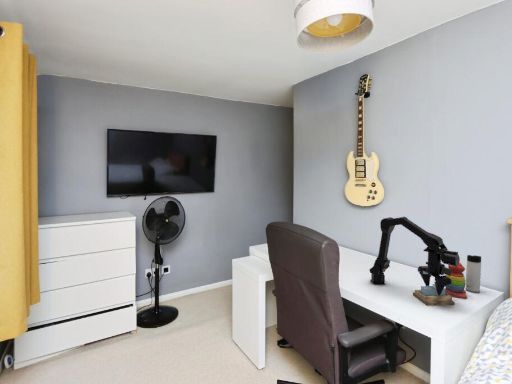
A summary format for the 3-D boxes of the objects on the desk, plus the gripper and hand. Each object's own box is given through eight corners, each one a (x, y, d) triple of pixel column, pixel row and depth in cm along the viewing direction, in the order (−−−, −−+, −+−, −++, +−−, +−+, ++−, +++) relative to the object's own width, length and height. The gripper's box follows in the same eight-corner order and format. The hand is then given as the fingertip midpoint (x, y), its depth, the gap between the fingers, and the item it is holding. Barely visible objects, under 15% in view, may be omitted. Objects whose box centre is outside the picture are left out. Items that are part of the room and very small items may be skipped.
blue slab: (425, 298, 148) (425, 287, 147) (420, 295, 152) (421, 283, 151) (444, 298, 148) (445, 286, 147) (439, 295, 152) (440, 283, 151)
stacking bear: (467, 300, 149) (469, 265, 147) (444, 295, 154) (445, 262, 153) (465, 292, 158) (467, 260, 157) (443, 288, 163) (444, 257, 162)
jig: (426, 305, 144) (426, 298, 143) (412, 295, 156) (413, 288, 155) (454, 304, 144) (454, 297, 144) (438, 294, 156) (438, 287, 156)
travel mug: (467, 292, 158) (469, 256, 156) (464, 287, 164) (465, 252, 162) (481, 294, 155) (483, 257, 154) (477, 289, 161) (479, 253, 160)
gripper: (463, 267, 139) (461, 298, 140) (437, 255, 158) (436, 283, 159) (440, 267, 139) (439, 299, 140) (417, 255, 157) (416, 284, 159)
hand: (433, 291), depth 149 cm, fingers open, 9 cm apart
